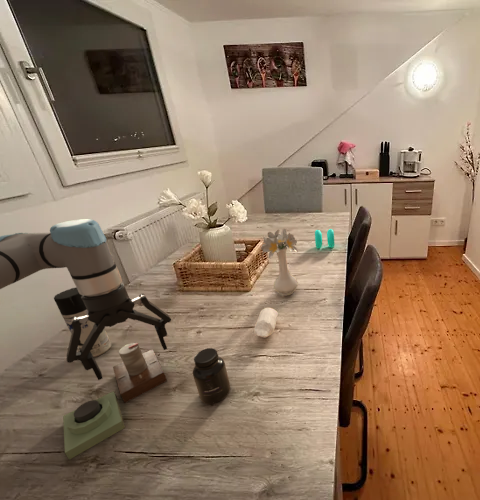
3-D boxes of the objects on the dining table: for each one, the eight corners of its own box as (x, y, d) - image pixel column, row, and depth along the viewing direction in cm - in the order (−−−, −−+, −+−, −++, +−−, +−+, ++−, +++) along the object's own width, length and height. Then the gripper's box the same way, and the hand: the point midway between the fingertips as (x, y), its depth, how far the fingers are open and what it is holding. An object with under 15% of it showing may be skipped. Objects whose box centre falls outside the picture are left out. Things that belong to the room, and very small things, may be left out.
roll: (252, 346, 83) (249, 331, 81) (261, 321, 94) (258, 307, 92) (273, 345, 83) (270, 330, 81) (279, 320, 94) (276, 306, 92)
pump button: (76, 414, 60) (72, 408, 60) (100, 402, 63) (97, 396, 62) (77, 426, 58) (74, 421, 57) (102, 413, 60) (99, 408, 60)
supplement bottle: (211, 410, 64) (199, 371, 59) (194, 397, 68) (181, 359, 63) (237, 388, 70) (227, 351, 65) (220, 377, 73) (209, 341, 68)
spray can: (78, 355, 82) (46, 297, 74) (104, 340, 87) (77, 284, 80) (91, 361, 79) (60, 301, 71) (117, 345, 85) (91, 288, 77)
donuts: (316, 244, 156) (314, 227, 152) (333, 243, 157) (333, 226, 153) (316, 251, 147) (314, 233, 143) (334, 250, 148) (334, 232, 144)
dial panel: (116, 375, 74) (112, 366, 73) (155, 356, 80) (152, 348, 79) (124, 403, 67) (120, 394, 65) (167, 380, 72) (163, 371, 71)
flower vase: (300, 278, 121) (294, 222, 111) (304, 301, 104) (297, 238, 95) (269, 282, 118) (260, 226, 108) (268, 306, 102) (257, 243, 92)
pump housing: (67, 422, 62) (59, 410, 61) (117, 397, 68) (111, 385, 67) (69, 459, 55) (60, 447, 54) (125, 427, 61) (118, 415, 59)
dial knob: (130, 378, 70) (119, 355, 67) (127, 369, 72) (116, 347, 69) (148, 369, 72) (139, 347, 69) (145, 361, 75) (136, 339, 72)
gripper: (161, 265, 73) (183, 330, 81) (22, 305, 57) (67, 381, 66) (169, 274, 68) (191, 342, 76) (19, 321, 52) (68, 401, 61)
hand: (134, 360), depth 71 cm, fingers open, 13 cm apart
